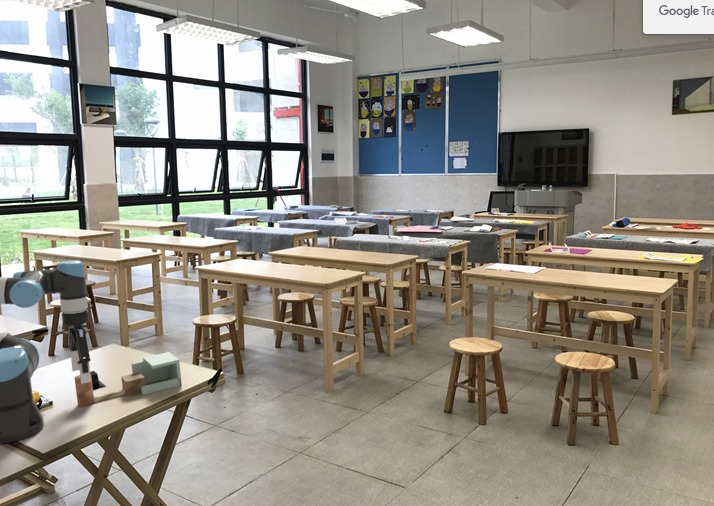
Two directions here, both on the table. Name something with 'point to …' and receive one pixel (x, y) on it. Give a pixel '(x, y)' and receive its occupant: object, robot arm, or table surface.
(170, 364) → the shelf lane
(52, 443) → the table surface
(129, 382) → the towed block
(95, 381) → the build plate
